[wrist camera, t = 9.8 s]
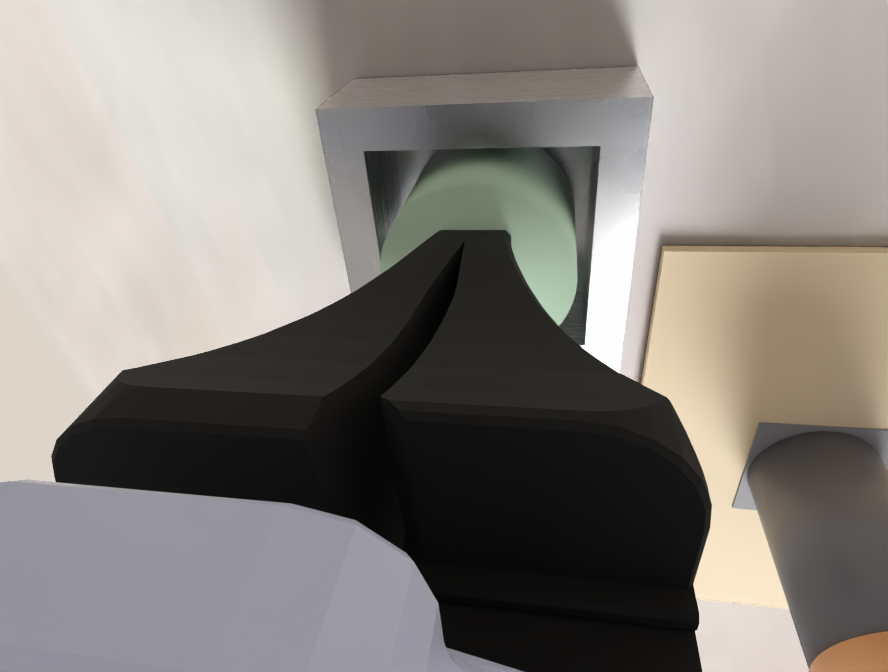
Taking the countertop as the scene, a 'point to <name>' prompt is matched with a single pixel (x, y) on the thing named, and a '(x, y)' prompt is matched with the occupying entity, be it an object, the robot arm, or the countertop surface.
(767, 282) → the paper
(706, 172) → the countertop surface
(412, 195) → the button
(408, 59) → the countertop surface
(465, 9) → the countertop surface
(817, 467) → the marker
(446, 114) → the button housing
